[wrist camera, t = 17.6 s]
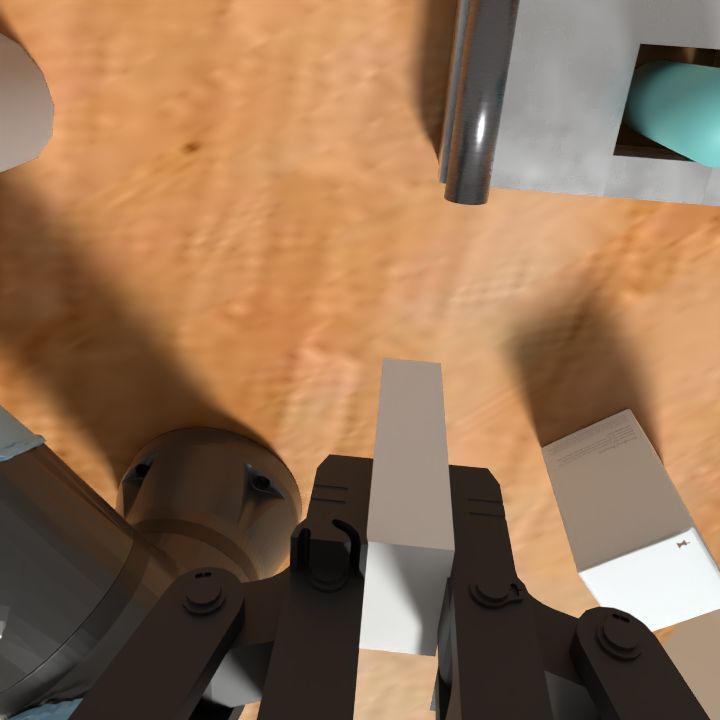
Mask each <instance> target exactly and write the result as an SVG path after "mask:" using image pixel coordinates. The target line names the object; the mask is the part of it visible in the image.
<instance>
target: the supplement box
mask: <svg viewBox="0 0 720 720" xmlns="http://www.w3.org/2000/svg"><path fill="white" fill-rule="evenodd" d="M542 454H543V457H544V461H545V464H546V467H547V471H548V474H549V477H550V481H551V484H552V487H553V491H554V494H555V498H556V501H557V504H558V507H559V511H560V514H561V517H562V521H563V524H564V527H565V531H566V534H567V537H568V541H569V544H570V547H571V551H572V554H573V558H574V561H575V564H576V568H577V572H578V574H579V576H580V577H581V579H582V580H583V582H584V583H585V585H586V586H587V588H588V589H589V590H590V592H591V593H592V595H593V596H594V597H595V599H596V600H597V602H598V603H599V605H600V606H601V607H611V608H616V609H619V610H621V611H624V612H627V613H629V614H631V615H633V616H634V617H635V618H637V619H638V620H640V621H641V622H643V623H644V624H645V625H646V626H647V627H648V628H649V629H650V630H651V632H652V631H655V630H658V629H661V628H664V627H667V626H670V625H673V624H676V623H679V622H682V621H685V620H687V619H690V618H693V617H696V616H699V615H702V614H704V613H708V612H710V611H713V610H716V609H720V569H719V567H718V565H717V563H716V561H715V559H714V557H713V556H712V554H711V552H710V550H709V548H708V546H707V544H706V543H705V541H704V539H703V537H702V535H701V533H700V531H699V529H698V528H697V526H696V524H695V522H694V520H693V518H692V517H691V515H690V513H689V511H688V509H687V508H686V506H685V504H684V502H683V500H682V498H681V497H680V495H679V493H678V491H677V489H676V488H675V486H674V484H673V482H672V480H671V479H670V477H669V475H668V473H667V471H666V470H665V468H664V466H663V464H662V462H661V460H660V458H659V457H658V455H657V453H656V451H655V449H654V448H653V446H652V444H651V443H650V441H649V439H648V438H647V436H646V434H645V433H644V431H643V429H642V428H641V426H640V425H639V423H638V421H637V420H636V418H635V417H634V415H633V413H632V411H631V410H630V409H626V410H624V411H621V412H619V413H617V414H615V415H612V416H610V417H608V418H606V419H604V420H601V421H599V422H597V423H594V424H592V425H590V426H588V427H586V428H583V429H581V430H579V431H577V432H575V433H572V434H570V435H568V436H566V437H564V438H561V439H559V440H557V441H555V442H553V443H550V444H549V445H547V446H545V447H543V448H542Z"/></svg>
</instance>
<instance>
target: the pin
mask: <svg viewBox="0 0 720 720" xmlns="http://www.w3.org/2000/svg"><path fill="white" fill-rule="evenodd" d="M622 120H623V122H624V123H625V125H626V126H627V127H628V128H630V129H631V130H633V131H635V132H637V133H639V134H641V135H643V136H645V137H647V138H649V139H651V140H653V141H655V142H657V143H659V144H661V145H663V146H665V147H667V148H669V149H671V150H673V151H675V152H677V153H679V154H682V155H684V156H686V157H688V158H690V159H692V160H694V161H696V162H698V163H700V164H702V165H704V166H708V167H713V168H720V68H715V67H708V66H702V65H695V64H688V63H681V62H675V61H668V60H655V61H651V62H648V63H646V64H644V65H642V66H640V67H639V68H638V69H636V70H635V71H634V72H633V76H632V80H631V84H630V88H629V92H628V96H627V100H626V104H625V108H624V112H623V116H622Z"/></svg>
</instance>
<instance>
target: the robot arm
mask: <svg viewBox="0 0 720 720" xmlns="http://www.w3.org/2000/svg"><path fill="white" fill-rule="evenodd" d="M45 441H46V440H45V439H44V437H43V436H41V435H35V434H34V433H32V432H31V431H30V430H29V429H28V428H26V427H25V426H24V425H23V424H22V423H21V422H19V421H18V420H17V419H16V418H15V417H14V416H12V415H11V414H10V413H9V412H8V411H7V410H5V409H4V408H3V407H2V406H1V405H0V719H1V720H238V719H239V717H240V715H241V713H242V711H243V709H244V706H245V704H249V703H254V702H258V701H261V703H260V708H259V712H258V717H257V720H353V714H354V702H355V690H356V679H357V667H358V655H359V648H364V649H373V650H382V651H391V652H400V653H409V654H418V655H427V656H435V655H436V649H437V644H438V671H437V676H436V681H435V686H434V691H433V697H432V702H431V707H430V710H432V711H436V720H710V719H709V717H708V715H707V714H706V712H705V711H704V709H703V708H702V706H701V705H700V703H699V702H698V700H697V699H696V697H695V696H694V694H693V692H692V691H691V689H690V688H689V687H688V685H687V683H686V682H685V680H684V679H683V677H682V676H681V674H680V673H679V671H678V670H677V668H676V667H675V665H674V664H673V662H672V660H671V659H670V658H669V656H668V654H667V653H666V651H665V650H664V648H663V647H662V645H661V644H660V642H659V641H658V639H657V638H656V636H655V635H654V634H653V633H652V632H651V630H650V629H649V628H648V627H647V626H646V625H645V624H644V623H643V622H641V621H640V620H638V619H637V618H635V617H634V616H633V615H631V614H629V613H627V612H624V611H621V610H619V609H616V608H611V607H596V608H592V609H589V610H586V611H585V612H584V613H583V614H582V616H581V617H580V618H579V619H578V618H576V617H573V616H570V615H568V614H565V613H562V612H560V611H557V610H554V609H552V608H550V607H548V606H546V605H544V604H542V603H541V602H539V601H538V600H536V599H535V598H534V597H532V596H531V595H530V594H529V593H528V591H527V589H526V587H525V585H524V583H523V582H522V581H521V580H520V579H519V578H518V577H517V574H516V571H515V566H514V560H513V555H512V549H511V544H510V538H509V533H508V527H507V522H506V520H505V511H504V505H503V500H502V494H501V489H500V484H499V483H498V482H497V480H496V479H495V478H494V476H493V475H492V474H491V472H490V471H489V470H488V469H487V468H477V467H467V466H457V465H448V452H447V439H446V426H445V413H444V399H443V386H442V373H441V363H433V362H422V361H411V360H400V359H390V358H383V366H382V376H381V387H380V397H379V408H378V419H377V429H376V440H375V450H374V459H371V458H361V457H351V456H341V455H331V454H330V455H329V456H328V457H327V458H326V459H325V460H324V461H323V462H322V463H321V464H320V465H319V467H318V468H317V471H316V476H315V481H314V486H313V490H312V494H311V500H310V503H309V508H308V513H307V517H306V519H305V520H303V521H302V522H301V523H300V520H301V514H302V503H301V497H300V493H299V490H298V487H297V485H296V483H295V481H294V479H293V477H292V476H291V474H290V473H289V471H288V470H287V468H286V467H285V466H284V465H283V464H282V463H281V462H280V461H279V460H278V459H277V458H276V457H275V456H274V455H273V454H272V453H270V452H269V451H268V450H266V449H265V448H264V447H262V446H260V445H259V444H257V443H255V442H253V441H252V440H249V439H247V438H245V437H243V436H240V435H237V434H234V433H231V432H227V431H223V430H218V429H211V428H187V429H180V430H176V431H172V432H169V433H166V434H163V435H161V436H159V437H157V438H155V439H153V440H152V441H150V442H149V443H148V444H147V445H145V446H144V447H143V448H142V449H141V450H140V451H139V452H138V454H137V455H136V456H135V458H134V459H133V461H132V463H131V464H130V466H129V467H128V469H127V470H126V472H125V474H124V476H123V478H122V480H121V483H120V486H119V489H118V494H117V501H116V508H115V510H114V509H113V508H112V507H111V506H110V505H109V504H108V503H107V502H106V501H105V500H104V499H103V498H102V497H100V496H99V495H98V494H97V493H96V492H95V491H94V490H93V489H92V488H91V487H90V486H89V485H88V484H87V483H86V482H85V481H84V480H83V479H81V478H80V477H79V476H78V475H77V474H76V473H75V472H74V471H73V470H72V469H71V468H70V467H69V466H68V465H67V464H66V463H65V462H64V461H62V460H61V459H60V458H59V457H58V456H57V455H56V454H55V453H54V452H53V451H52V450H51V449H50V448H49V447H48V446H47V445H46V444H44V443H43V442H45ZM289 553H290V566H289V567H288V568H286V569H285V570H284V571H283V572H281V573H279V574H277V575H275V576H273V575H274V574H275V572H276V571H277V570H278V568H279V567H280V566H281V564H282V563H283V562H284V560H285V559H286V558H287V556H288V555H289ZM272 576H273V577H272Z"/></svg>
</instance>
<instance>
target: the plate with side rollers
mask: <svg viewBox="0 0 720 720" xmlns="http://www.w3.org/2000/svg"><path fill="white" fill-rule="evenodd" d="M640 44H654V45H667V46H681V47H695V48H708V49H717V51H716V55H715V58H714V61H713V65H712V67H715V68H720V0H457V6H456V15H455V23H454V31H453V40H452V48H451V56H450V65H449V73H448V81H447V90H446V98H445V106H444V115H443V123H442V131H441V140H440V148H439V156H438V163H439V172H438V178H439V183H446V187H445V195H444V198H445V199H446V200H448V201H451V202H454V203H459V204H466V205H481V204H485V203H487V201H488V195H489V188H490V187H494V188H506V189H519V190H531V191H543V192H555V193H567V194H579V195H591V196H604V197H616V198H628V199H640V200H652V201H664V202H676V203H689V204H701V205H713V206H720V168H713V167H708V166H704V165H702V164H700V163H698V162H696V161H694V160H692V159H690V158H688V157H686V156H684V155H682V154H679V153H677V152H675V151H673V150H671V149H663V148H651V147H638V146H625V145H615V144H616V140H617V136H618V132H619V128H620V124H621V120H622V116H623V112H624V108H625V104H626V100H627V96H628V92H629V88H630V84H631V80H632V76H633V72H634V68H635V64H636V59H637V55H638V51H639V47H640Z"/></svg>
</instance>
